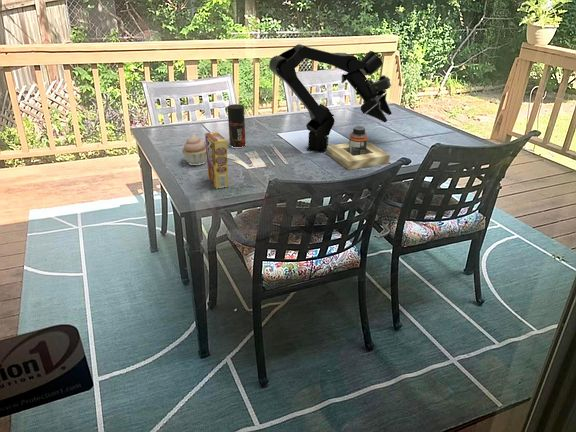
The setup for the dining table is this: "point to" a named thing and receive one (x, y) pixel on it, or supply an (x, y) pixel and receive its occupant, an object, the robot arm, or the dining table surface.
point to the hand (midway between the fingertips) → (388, 117)
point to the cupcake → (195, 150)
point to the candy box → (217, 159)
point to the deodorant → (236, 125)
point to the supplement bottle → (358, 141)
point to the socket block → (357, 156)
